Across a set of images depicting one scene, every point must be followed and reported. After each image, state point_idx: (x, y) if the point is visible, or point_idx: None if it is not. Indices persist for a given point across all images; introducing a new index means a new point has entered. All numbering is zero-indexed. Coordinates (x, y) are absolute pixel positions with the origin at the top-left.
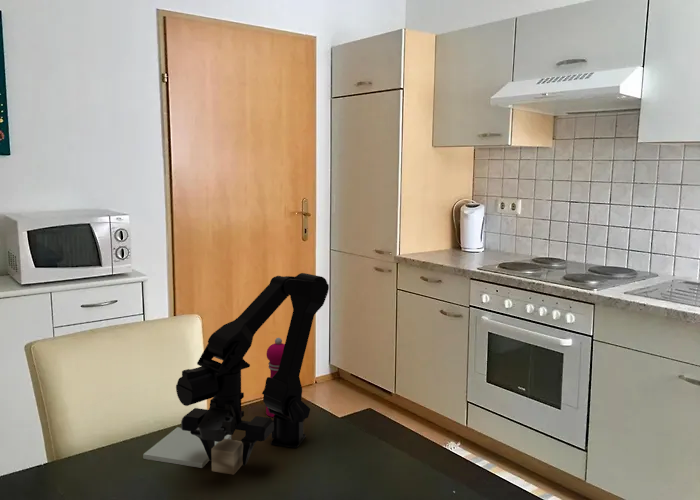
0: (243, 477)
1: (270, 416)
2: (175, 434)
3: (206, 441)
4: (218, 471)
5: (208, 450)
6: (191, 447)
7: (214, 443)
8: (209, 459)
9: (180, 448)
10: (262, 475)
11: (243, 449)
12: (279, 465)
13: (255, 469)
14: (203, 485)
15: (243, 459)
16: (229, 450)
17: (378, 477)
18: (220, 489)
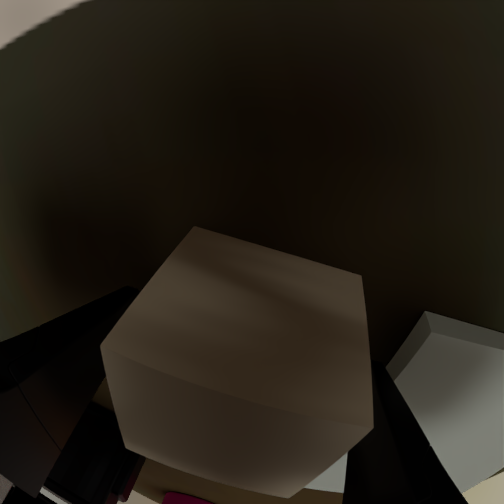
0: (124, 191)
1: (206, 501)
2: (480, 474)
3: (416, 492)
4: (310, 262)
5: (394, 420)
6: (454, 439)
7: (347, 470)
8: (382, 366)
9: (496, 428)
10: (50, 217)
11: (40, 357)
12: (38, 297)
13: (100, 276)
14: (392, 69)
15: (105, 310)
16: (157, 383)
17: None
18: (235, 14)
